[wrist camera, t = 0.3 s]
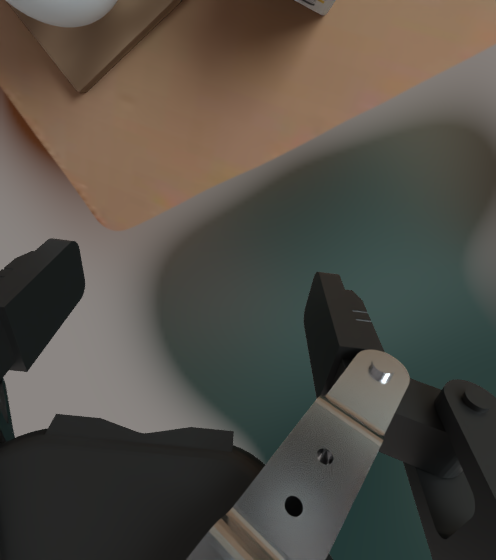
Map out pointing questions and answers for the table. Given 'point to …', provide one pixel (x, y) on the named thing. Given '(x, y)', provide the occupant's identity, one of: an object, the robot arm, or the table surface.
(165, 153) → the table surface
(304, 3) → the container
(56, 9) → the ball
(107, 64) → the wooden tray
